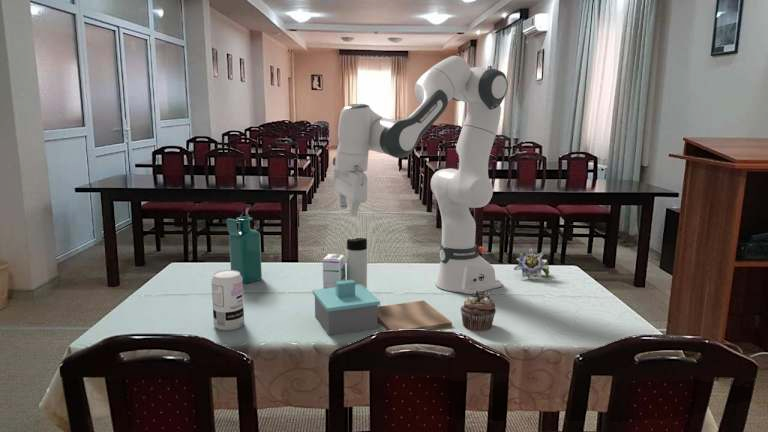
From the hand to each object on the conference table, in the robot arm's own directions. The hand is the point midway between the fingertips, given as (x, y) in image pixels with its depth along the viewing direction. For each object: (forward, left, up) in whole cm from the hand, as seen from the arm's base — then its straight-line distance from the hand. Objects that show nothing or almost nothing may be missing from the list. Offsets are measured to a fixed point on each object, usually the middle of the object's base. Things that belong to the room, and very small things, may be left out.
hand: (348, 212), depth 162 cm
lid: (+3, +5, -25) cm, 25 cm away
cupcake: (-31, +20, -31) cm, 49 cm away
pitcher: (+24, -42, -31) cm, 57 cm away
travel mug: (-6, -11, -31) cm, 33 cm away
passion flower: (-73, -12, -31) cm, 80 cm away
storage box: (+3, +5, -31) cm, 31 cm away
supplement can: (+34, -4, -31) cm, 46 cm away
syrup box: (+1, -12, -31) cm, 33 cm away
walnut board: (-15, +9, -31) cm, 36 cm away
